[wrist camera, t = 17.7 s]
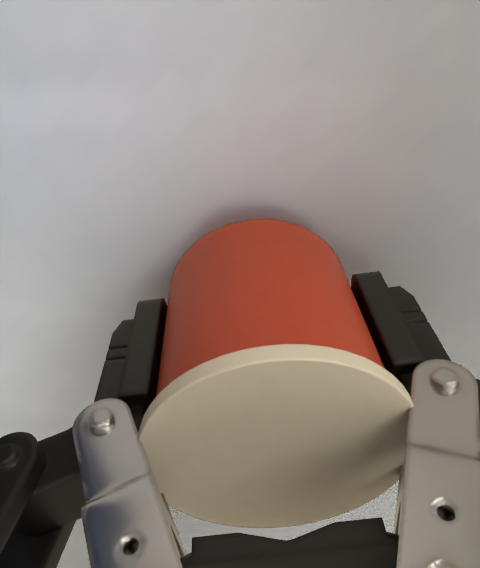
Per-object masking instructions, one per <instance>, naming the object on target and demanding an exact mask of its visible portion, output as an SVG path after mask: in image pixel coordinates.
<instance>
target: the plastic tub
mask: <svg viewBox="0 0 480 568" xmlns="http://www.w3.org/2000/svg"><path fill="white" fill-rule="evenodd" d="M412 407H414V405H413V402H412V400H411V397H410V395H409V393H408V392H407V390H406V389H405V387H404V386H403V384H402V383H401V382H400V381H399V380H398V379H397V378H396V377H395V376H394V375H393V374H391V373H390V372H388V371H387V370H386V369H385V368H384V366H383V363H382V361H381V359H380V356H379V354H378V351H377V349H376V347H375V344H374V342H373V340H372V337H371V335H370V332H369V330H368V328H367V325H366V323H365V320H364V318H363V316H362V313H361V311H360V309H359V306H358V304H357V301H356V299H355V297H354V294H353V292H352V289H351V287H350V285H349V282H348V280H347V277H346V275H345V273H344V270H343V268H342V266H341V263H340V261H339V259H338V257H337V256H336V254H335V252H334V251H333V250H332V248H331V247H330V246H329V245H328V244H327V243H326V242H325V241H324V240H323V239H321V238H320V237H319V236H318V235H316V234H314V233H313V232H311V231H309V230H307V229H305V228H303V227H301V226H298V225H296V224H292V223H289V222H285V221H279V220H271V219H255V220H245V221H240V222H235V223H232V224H229V225H226V226H223V227H221V228H218V229H216V230H214V231H212V232H210V233H209V234H207V235H205V236H204V237H202V238H201V239H200V240H198V241H197V242H196V243H195V244H193V245H192V246H191V247H190V248H189V249H188V251H187V252H186V253H185V254H184V255H183V257H182V258H181V259H180V261H179V262H178V264H177V266H176V268H175V270H174V272H173V276H172V279H171V283H170V290H169V298H168V306H167V314H166V322H165V329H164V337H163V345H162V353H161V361H160V368H159V376H158V384H157V392H156V398H155V399H154V400H153V402H152V403H151V404H150V406H149V407H148V409H147V411H146V413H145V414H144V416H143V419H142V422H141V425H140V428H139V437H138V439H139V440H141V443H142V445H143V447H144V450H145V452H146V454H147V457H148V460H149V463H150V466H151V469H152V472H153V475H154V477H155V480H156V483H157V486H158V489H159V491H160V493H163V494H164V496H165V499H166V501H167V503H168V504H169V505H170V506H172V507H173V508H175V509H177V510H179V511H181V512H183V513H185V514H187V515H190V516H193V517H195V518H198V519H201V520H205V521H209V522H212V523H217V524H222V525H227V526H236V527H247V528H276V527H288V526H295V525H302V524H307V523H312V522H316V521H321V520H324V519H328V518H331V517H334V516H337V515H340V514H343V513H346V512H348V511H351V510H353V509H355V508H357V507H360V506H362V505H363V504H365V503H367V502H369V501H371V500H373V499H374V498H376V497H377V496H379V495H380V494H382V493H383V492H385V491H386V490H387V489H389V488H390V487H391V486H392V485H393V484H395V483H396V482H397V481H398V480H399V475H400V468H401V465H403V463H404V454H405V443H406V432H407V422H408V415H409V409H410V408H412Z"/></svg>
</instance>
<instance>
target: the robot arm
mask: <svg viewBox="0 0 480 568" xmlns="http://www.w3.org/2000/svg"><path fill="white" fill-rule="evenodd" d="M351 289H352V292H353V294H354V297H355V299H356V301H357V304H358V306H359V309H360V311H361V313H362V316H363V318H364V320H365V323H366V325H367V328H368V330H369V332H370V335H371V337H372V340H373V342H374V344H375V347H376V349H377V351H378V354H379V356H380V359H381V361H382V363H383V366H384V368H385V369H386V370H387V371H388V372H390V373H391V374H393V375H394V376H395V377H396V378H397V379H398V380H399V381H400V382H401V383H402V384H403V386H404V387H405V389H406V390H407V392H408V393H409V395H410V397H411V400H412V402H413V405H414V407H412V408H410V409H409V415H408V422H407V432H406V443H405V454H404V463H403V465H401V468H400V475H399V484H398V494H397V504H396V514H395V522H394V530H393V533H389V532H386V530H385V526H384V523H383V520H382V517H381V518H372V519H362V520H353V521H344V522H335V523H332V524H330V525H327V526H325V527H322V528H320V529H317V530H315V531H312V532H310V533H307V534H305V535H302V536H300V537H297V538H295V539H292V540H287V541H284V540H278V539H272V538H266V537H260V536H254V535H248V534H242V533H232V534H222V535H213V536H203V537H194V538H192V553H189V554H187V555H186V552H185V549H184V547H183V544H182V542H181V539H180V537H179V534H178V531H177V528H176V526H175V523H174V520H173V517H172V514H171V512H170V509H169V506H168V503H167V501H166V499H165V496H164V494H163V493H160V491H159V489H158V486H157V483H156V480H155V477H154V475H153V472H152V469H151V466H150V463H149V460H148V457H147V454H146V452H145V450H144V447H143V445H142V443H141V440H139V439H138V437H139V428H140V425H141V422H142V419H143V416H144V414H145V413H146V411H147V409H148V407H149V406H150V404H151V403H152V402H153V400H154V399H155V398H156V392H157V384H158V376H159V368H160V361H161V353H162V345H163V337H164V329H165V322H166V314H167V304H166V301H165V299H163V298H162V299H154V300H146V301H139V302H138V304H137V308H136V312H135V317H134V319H132V320H124V321H122V322H121V324H120V325H119V326H118V327H117V329H116V330H115V331H114V332H113V334H112V337H111V341H110V345H109V350H108V352H107V356H106V361H105V363H104V367H103V371H102V374H101V378H100V382H99V385H98V389H97V393H96V396H95V400H94V403H92V404H91V405H89V406H88V407H86V408H85V409H84V410H83V411H82V412H81V413H80V414H79V415H78V417H77V418H76V420H75V422H74V425H73V427H72V428H70V429H68V430H66V431H64V432H61V433H59V434H56V435H54V436H51V437H49V438H46V439H44V440H41V441H39V442H38V441H37V440H36V438H35V437H34V436H33V435H31V434H29V433H26V432H16V433H11V434H8V435H6V436H4V437H2V438H0V568H56V567H57V564H58V562H59V560H60V557H61V555H62V552H63V550H64V548H65V545H66V543H67V541H68V538H69V536H70V534H71V531H72V529H73V526H74V524H75V522H76V520H77V519H79V518H81V517H82V521H83V527H84V532H85V538H86V543H87V549H88V554H89V560H90V565H91V568H480V380H478V379H475V377H474V376H473V375H472V373H471V372H470V371H469V370H467V369H466V368H465V367H463V366H461V365H459V364H457V363H455V362H452V361H451V360H450V358H449V356H448V355H447V353H446V351H445V350H444V348H443V346H442V344H441V343H440V341H439V339H438V338H437V336H436V334H435V332H434V331H433V329H432V327H431V326H430V324H429V322H427V319H426V317H425V315H424V313H423V312H421V308H420V307H419V305H418V303H417V301H416V300H415V298H414V296H412V295H411V294H410V293H408V292H407V291H406V290H404V289H403V288H402V287H400V286H397V287H389V288H388V287H387V285H386V283H385V281H384V279H383V277H382V275H381V273H380V272H379V271H377V272H369V273H361V274H353V275H352V279H351Z"/></svg>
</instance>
